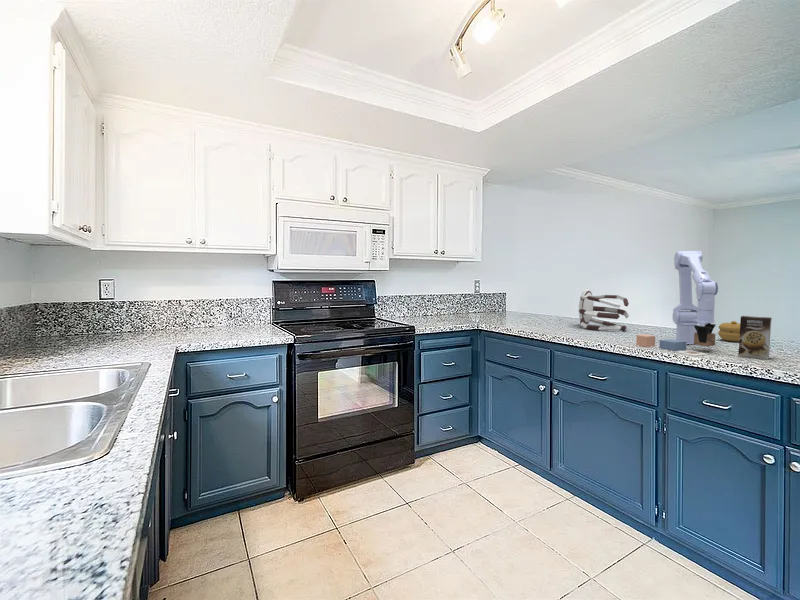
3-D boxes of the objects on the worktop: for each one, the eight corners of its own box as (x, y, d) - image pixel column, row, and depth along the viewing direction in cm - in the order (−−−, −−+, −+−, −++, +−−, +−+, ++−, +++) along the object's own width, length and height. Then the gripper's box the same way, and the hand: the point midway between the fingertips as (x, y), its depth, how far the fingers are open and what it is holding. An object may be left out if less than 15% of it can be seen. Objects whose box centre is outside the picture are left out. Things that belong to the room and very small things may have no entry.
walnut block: (702, 343, 175) (702, 332, 175) (714, 345, 170) (715, 333, 170) (693, 344, 173) (694, 332, 173) (706, 346, 168) (706, 334, 168)
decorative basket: (597, 323, 266) (641, 334, 233) (562, 325, 259) (602, 337, 226) (599, 287, 263) (644, 293, 230) (564, 288, 256) (605, 294, 223)
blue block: (670, 347, 181) (670, 339, 181) (686, 350, 175) (686, 341, 174) (659, 348, 179) (659, 340, 179) (674, 351, 172) (674, 342, 172)
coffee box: (737, 356, 160) (739, 316, 159) (739, 354, 165) (741, 315, 164) (768, 359, 154) (770, 318, 153) (769, 357, 158) (771, 316, 158)
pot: (735, 343, 189) (736, 322, 189) (711, 339, 201) (712, 320, 200) (755, 342, 192) (756, 322, 191) (730, 338, 203) (731, 319, 203)
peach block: (644, 345, 188) (645, 334, 188) (654, 346, 183) (655, 336, 183) (636, 345, 187) (636, 335, 186) (646, 347, 182) (646, 336, 182)
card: (689, 351, 172) (689, 350, 172) (708, 354, 164) (708, 353, 164) (675, 352, 169) (675, 351, 169) (694, 356, 162) (694, 354, 162)
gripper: (698, 308, 179) (696, 338, 179) (690, 310, 169) (689, 342, 170) (717, 309, 173) (716, 340, 174) (711, 311, 164) (709, 344, 164)
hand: (704, 341), depth 172 cm, fingers closed on walnut block, 7 cm apart
